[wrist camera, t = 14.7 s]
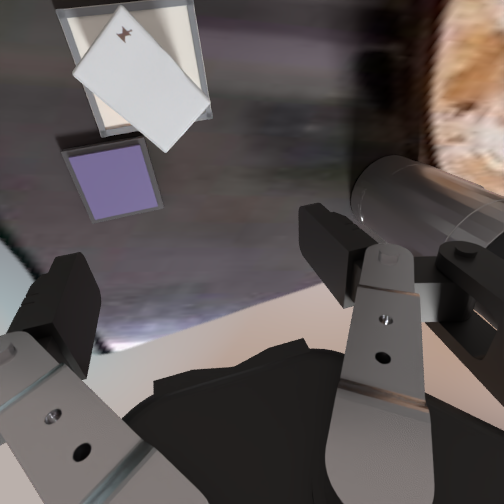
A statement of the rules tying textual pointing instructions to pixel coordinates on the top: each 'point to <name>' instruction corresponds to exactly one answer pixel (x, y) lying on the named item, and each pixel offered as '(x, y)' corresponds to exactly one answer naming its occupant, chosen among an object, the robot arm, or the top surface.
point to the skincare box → (141, 81)
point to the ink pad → (114, 178)
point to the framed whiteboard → (158, 26)
